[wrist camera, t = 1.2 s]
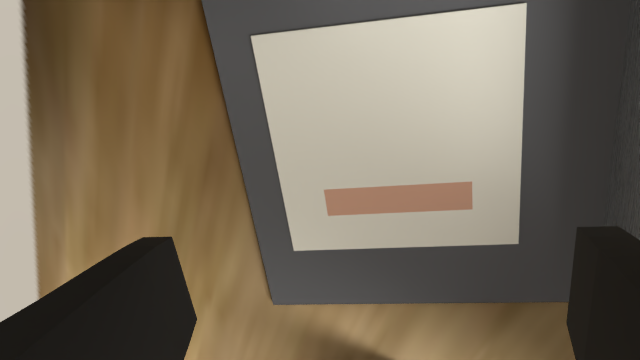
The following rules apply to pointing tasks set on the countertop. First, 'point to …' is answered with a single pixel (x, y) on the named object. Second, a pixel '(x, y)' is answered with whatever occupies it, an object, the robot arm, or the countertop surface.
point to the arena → (430, 142)
